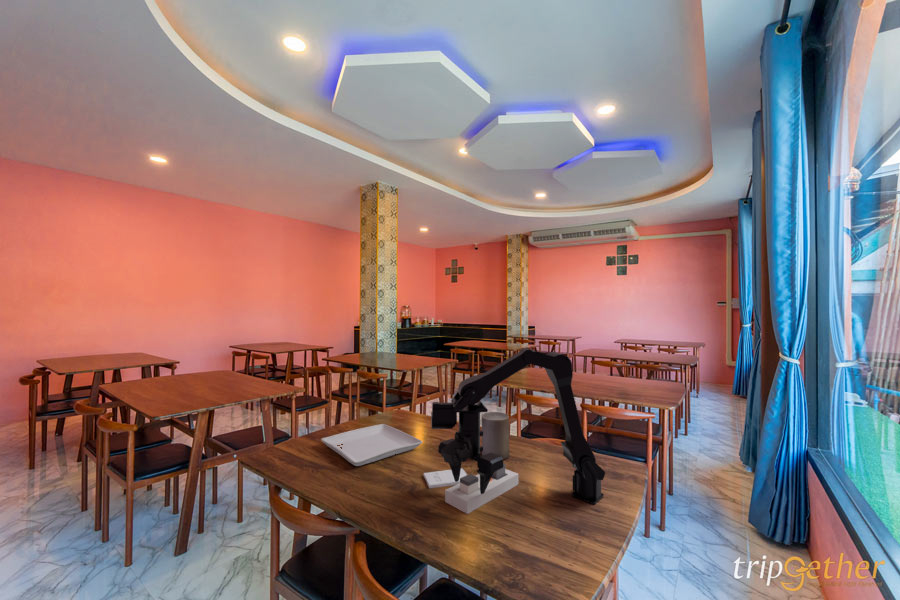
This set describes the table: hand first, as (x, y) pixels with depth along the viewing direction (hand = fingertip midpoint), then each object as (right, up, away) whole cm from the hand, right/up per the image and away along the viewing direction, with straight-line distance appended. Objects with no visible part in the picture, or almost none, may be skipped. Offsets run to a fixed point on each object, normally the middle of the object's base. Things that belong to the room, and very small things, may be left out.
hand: (469, 487), depth 95 cm
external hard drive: (-6, -5, +12) cm, 14 cm away
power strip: (+4, -4, +4) cm, 7 cm away
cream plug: (0, -4, 0) cm, 4 cm away
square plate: (-34, -5, +35) cm, 49 cm away
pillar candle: (+11, -5, +30) cm, 32 cm away
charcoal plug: (+8, -4, +8) cm, 13 cm away
